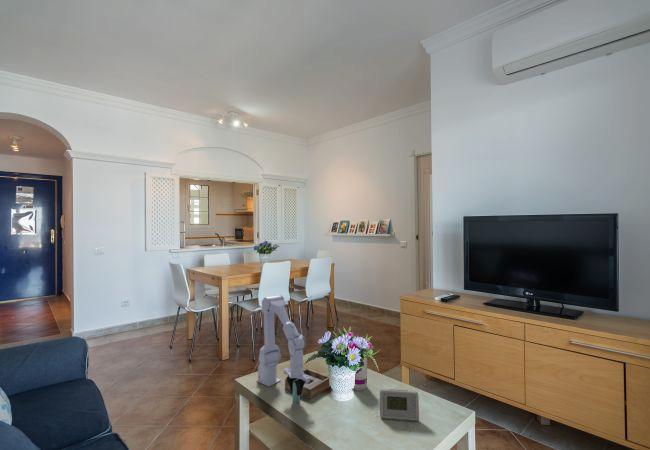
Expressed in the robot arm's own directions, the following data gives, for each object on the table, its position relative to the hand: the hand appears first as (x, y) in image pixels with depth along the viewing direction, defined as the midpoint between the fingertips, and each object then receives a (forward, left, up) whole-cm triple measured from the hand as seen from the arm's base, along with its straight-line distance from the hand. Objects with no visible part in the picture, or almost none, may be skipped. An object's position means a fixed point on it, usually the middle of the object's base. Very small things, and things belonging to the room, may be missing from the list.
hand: (296, 393), depth 153 cm
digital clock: (+42, +18, -4) cm, 46 cm away
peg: (0, 0, -3) cm, 3 cm away
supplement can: (+15, +29, -4) cm, 33 cm away
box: (-4, +13, -3) cm, 14 cm away
